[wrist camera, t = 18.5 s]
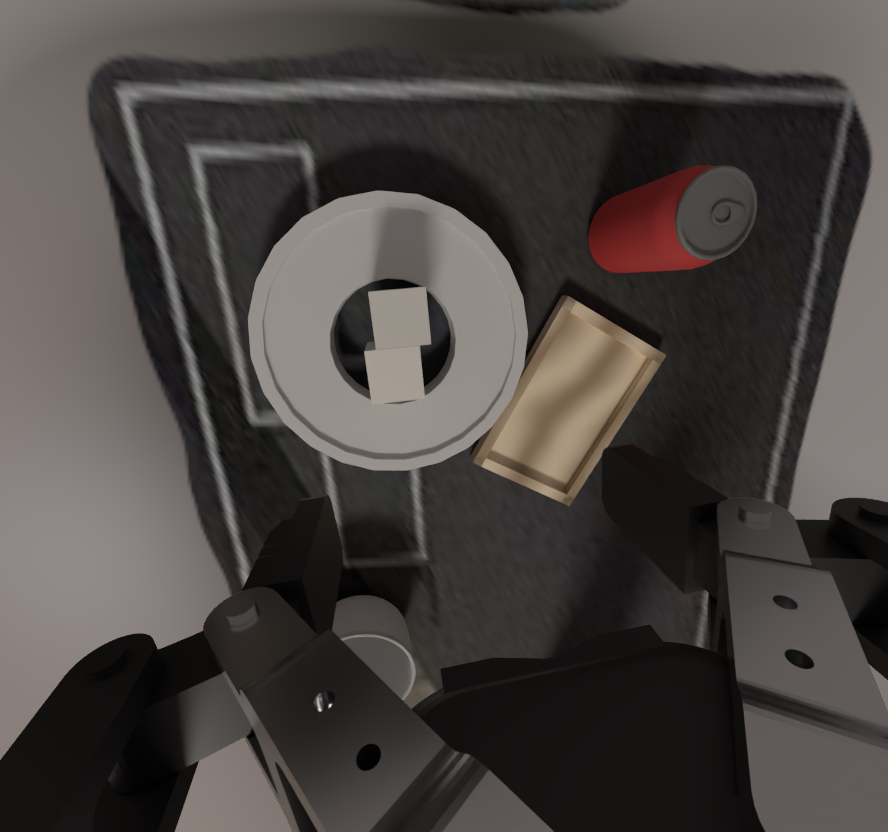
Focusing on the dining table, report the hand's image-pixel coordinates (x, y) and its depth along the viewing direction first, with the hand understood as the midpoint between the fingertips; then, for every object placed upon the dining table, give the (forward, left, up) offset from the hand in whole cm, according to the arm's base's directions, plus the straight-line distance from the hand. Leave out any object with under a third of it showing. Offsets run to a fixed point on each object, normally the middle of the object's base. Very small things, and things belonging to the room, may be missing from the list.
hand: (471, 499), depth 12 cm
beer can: (-12, -18, -28) cm, 36 cm away
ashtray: (+2, 0, -29) cm, 29 cm away
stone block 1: (+3, -3, -25) cm, 25 cm away
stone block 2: (+1, +1, -25) cm, 25 cm away
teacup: (-9, +31, -28) cm, 43 cm away
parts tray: (-16, -2, -28) cm, 32 cm away
